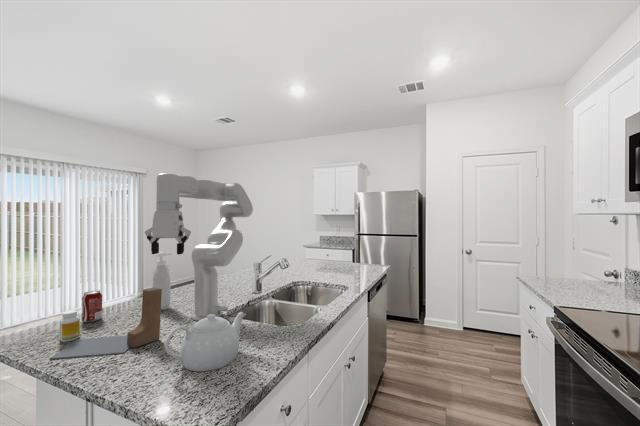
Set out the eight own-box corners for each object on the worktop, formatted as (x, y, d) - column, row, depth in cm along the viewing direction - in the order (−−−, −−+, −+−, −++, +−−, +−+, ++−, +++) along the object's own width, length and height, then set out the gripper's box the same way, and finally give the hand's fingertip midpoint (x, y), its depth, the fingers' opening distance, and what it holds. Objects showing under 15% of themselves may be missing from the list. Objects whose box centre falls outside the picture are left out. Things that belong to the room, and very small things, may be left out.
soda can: (106, 318, 126) (105, 290, 126) (89, 324, 119) (89, 294, 119) (95, 316, 128) (95, 289, 128) (78, 322, 122) (77, 293, 122)
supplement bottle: (82, 337, 107) (82, 310, 107) (65, 343, 102) (64, 315, 102) (74, 334, 109) (74, 308, 109) (57, 340, 104) (56, 313, 104)
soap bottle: (178, 308, 138) (177, 251, 138) (159, 313, 132) (159, 253, 132) (166, 302, 147) (165, 249, 147) (148, 306, 141) (148, 251, 141)
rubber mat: (142, 335, 108) (142, 334, 108) (124, 353, 94) (124, 352, 94) (79, 340, 104) (79, 339, 104) (49, 359, 90) (49, 358, 90)
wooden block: (134, 348, 96) (136, 293, 97) (126, 345, 98) (129, 291, 99) (159, 339, 104) (162, 288, 105) (152, 336, 106) (154, 287, 107)
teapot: (194, 345, 99) (193, 305, 99) (247, 345, 99) (247, 305, 99) (162, 376, 81) (162, 327, 81) (228, 376, 80) (227, 327, 80)
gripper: (195, 207, 110) (195, 252, 110) (152, 208, 112) (152, 252, 112) (184, 206, 103) (184, 255, 102) (138, 207, 104) (138, 255, 104)
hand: (167, 253), depth 107 cm, fingers open, 9 cm apart
